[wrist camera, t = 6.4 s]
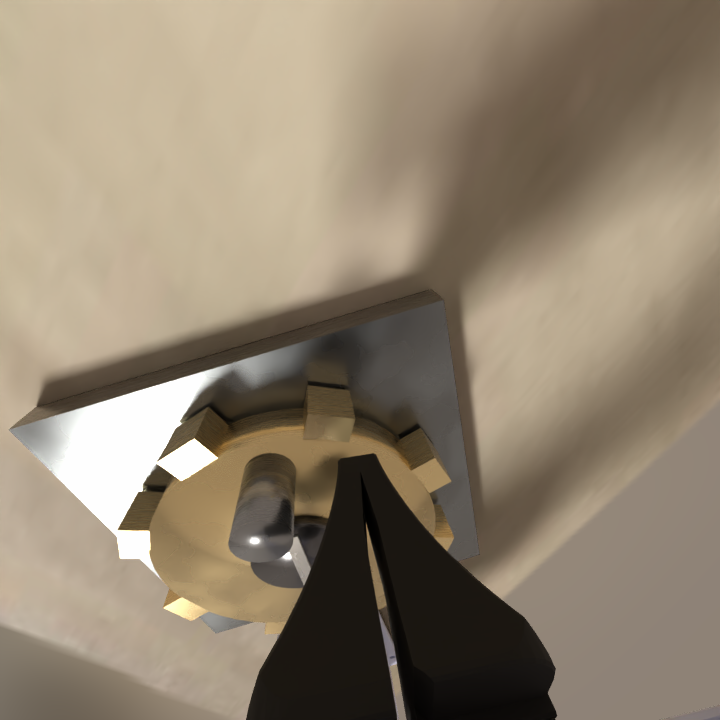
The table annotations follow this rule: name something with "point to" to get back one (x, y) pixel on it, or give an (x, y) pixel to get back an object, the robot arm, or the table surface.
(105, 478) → the cap plate
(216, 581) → the blocky toothed spur gear
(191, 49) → the table surface
